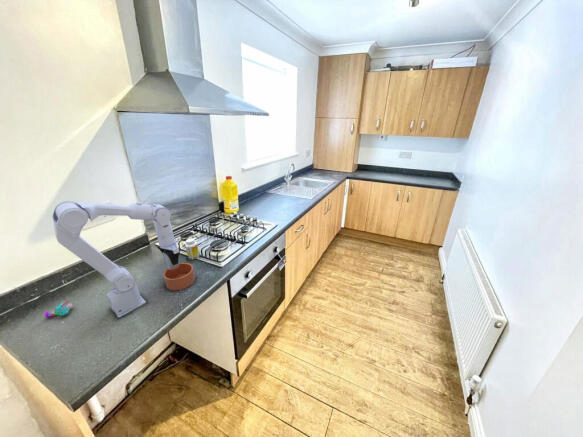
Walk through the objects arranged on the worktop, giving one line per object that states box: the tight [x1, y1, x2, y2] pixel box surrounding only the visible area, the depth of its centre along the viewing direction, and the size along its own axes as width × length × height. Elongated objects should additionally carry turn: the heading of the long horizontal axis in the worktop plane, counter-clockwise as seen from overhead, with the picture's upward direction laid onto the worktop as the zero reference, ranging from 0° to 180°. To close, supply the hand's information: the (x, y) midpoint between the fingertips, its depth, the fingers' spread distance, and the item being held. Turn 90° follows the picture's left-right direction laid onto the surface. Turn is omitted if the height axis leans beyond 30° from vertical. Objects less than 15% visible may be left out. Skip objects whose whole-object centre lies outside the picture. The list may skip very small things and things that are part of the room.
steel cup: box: [162, 249, 181, 270], centre depth 99 cm, size 5×5×8 cm
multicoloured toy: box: [43, 301, 73, 318], centre depth 86 cm, size 5×8×7 cm
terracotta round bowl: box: [162, 262, 196, 291], centre depth 102 cm, size 12×12×6 cm
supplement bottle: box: [184, 237, 200, 260], centre depth 118 cm, size 6×6×10 cm
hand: (172, 261), depth 99 cm, fingers closed on steel cup, 5 cm apart
